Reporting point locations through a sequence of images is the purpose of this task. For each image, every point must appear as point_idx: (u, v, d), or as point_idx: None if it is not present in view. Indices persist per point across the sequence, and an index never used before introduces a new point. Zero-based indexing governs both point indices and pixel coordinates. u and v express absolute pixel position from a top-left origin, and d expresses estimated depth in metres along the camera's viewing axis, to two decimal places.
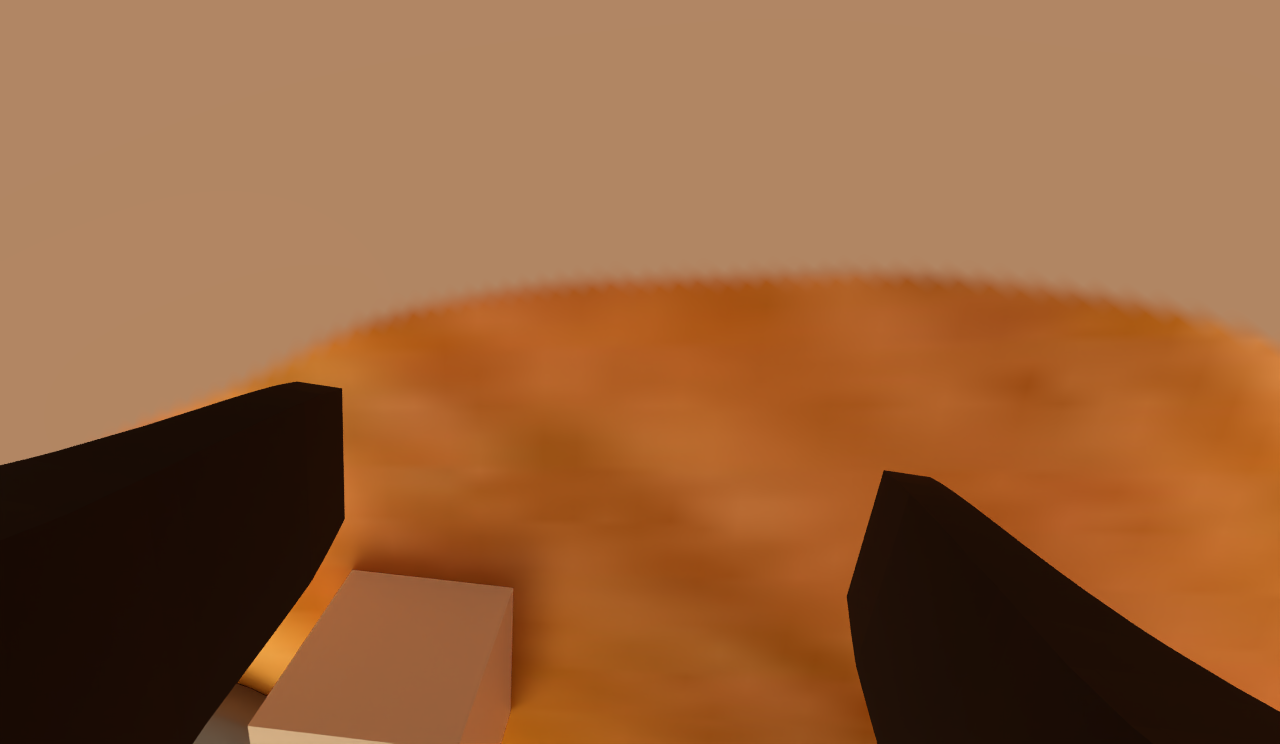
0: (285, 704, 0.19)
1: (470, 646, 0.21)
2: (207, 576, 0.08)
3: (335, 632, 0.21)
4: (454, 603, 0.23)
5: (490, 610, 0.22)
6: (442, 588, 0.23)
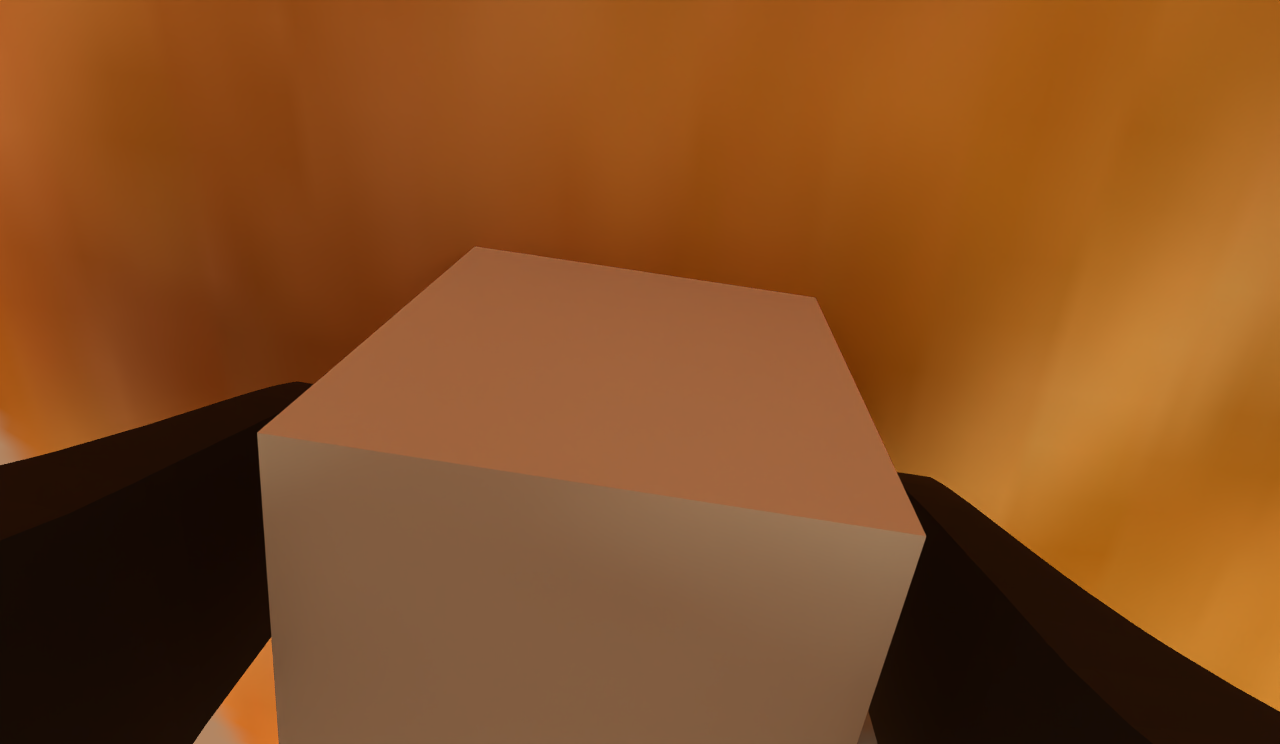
0: None
1: None
2: (207, 576, 0.08)
3: None
4: None
5: None
6: None
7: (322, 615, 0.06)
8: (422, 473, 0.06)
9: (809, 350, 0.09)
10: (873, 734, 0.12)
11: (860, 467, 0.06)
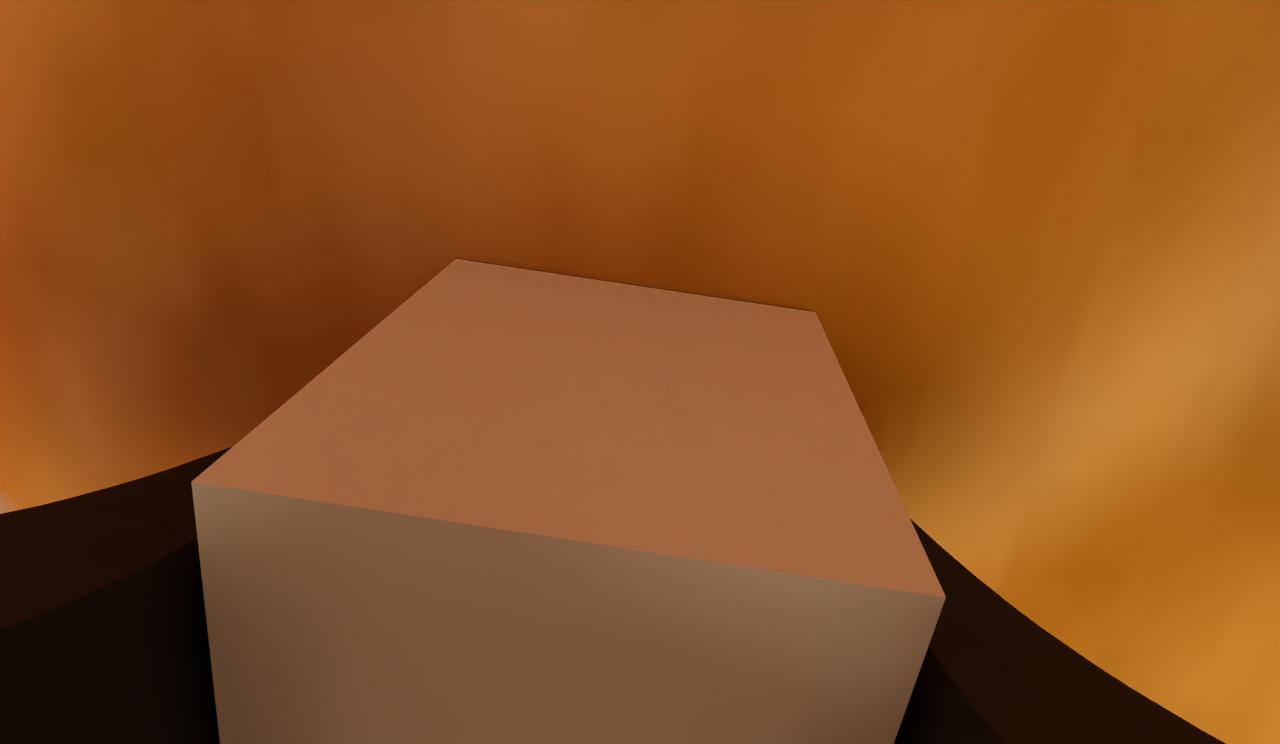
0: None
1: None
2: None
3: None
4: None
5: None
6: None
7: (272, 680, 0.06)
8: (379, 525, 0.05)
9: (810, 373, 0.08)
10: None
11: (869, 512, 0.06)
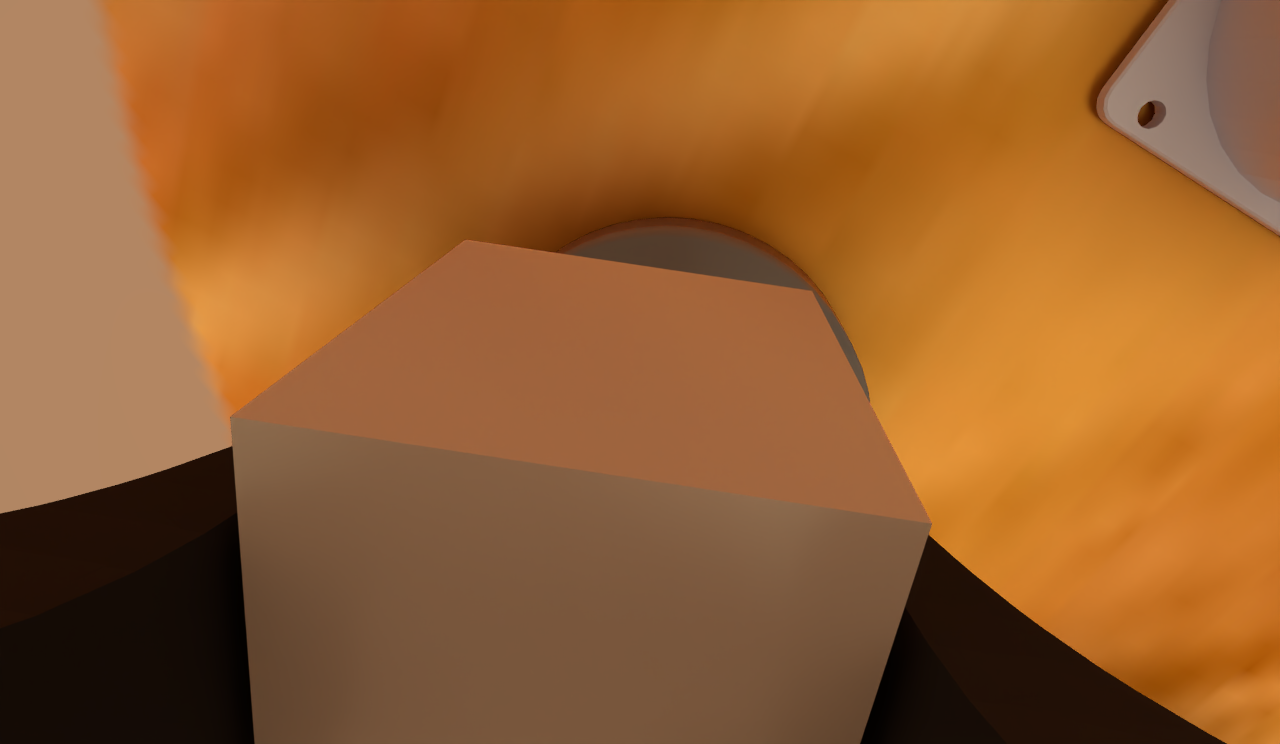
0: None
1: None
2: None
3: None
4: None
5: None
6: None
7: (301, 610, 0.06)
8: (404, 459, 0.05)
9: (807, 342, 0.09)
10: (662, 230, 0.16)
11: (862, 455, 0.06)
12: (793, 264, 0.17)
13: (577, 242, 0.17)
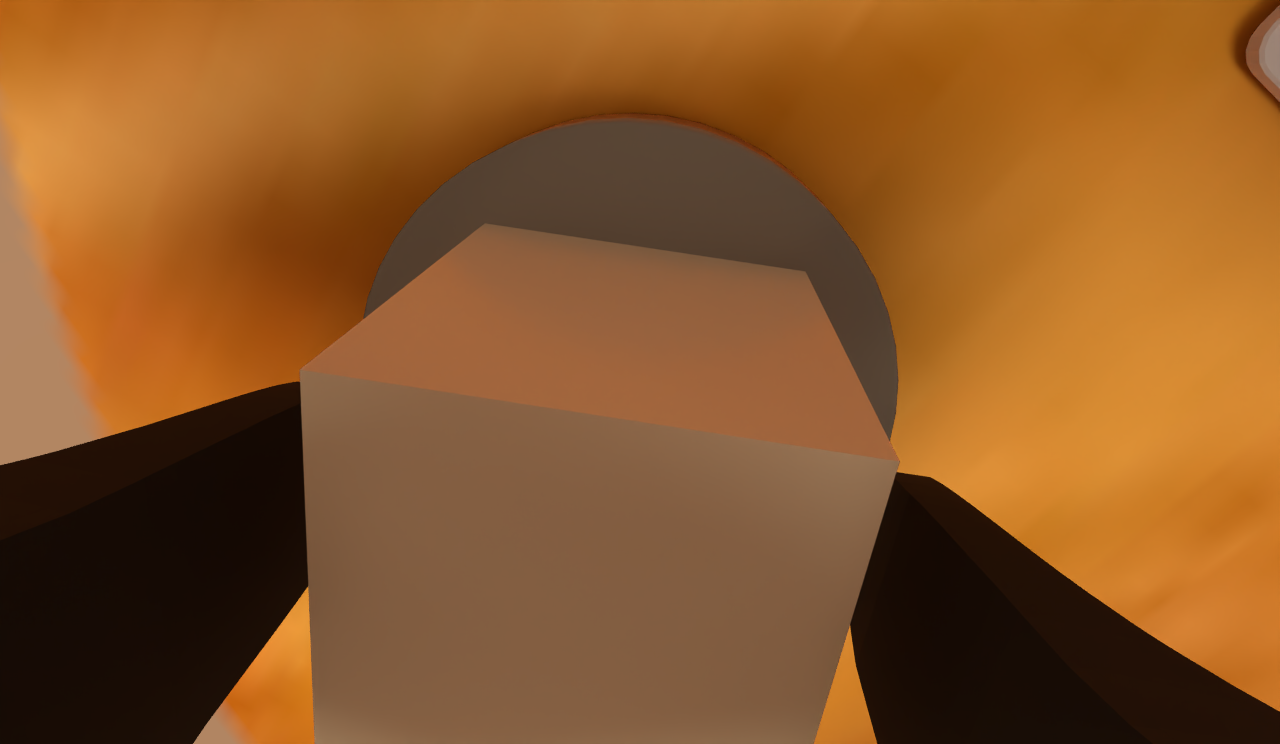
0: None
1: None
2: (207, 576, 0.08)
3: None
4: None
5: None
6: None
7: (354, 541, 0.07)
8: (447, 406, 0.06)
9: (799, 315, 0.10)
10: (661, 122, 0.12)
11: (842, 408, 0.07)
12: None
13: (545, 128, 0.13)
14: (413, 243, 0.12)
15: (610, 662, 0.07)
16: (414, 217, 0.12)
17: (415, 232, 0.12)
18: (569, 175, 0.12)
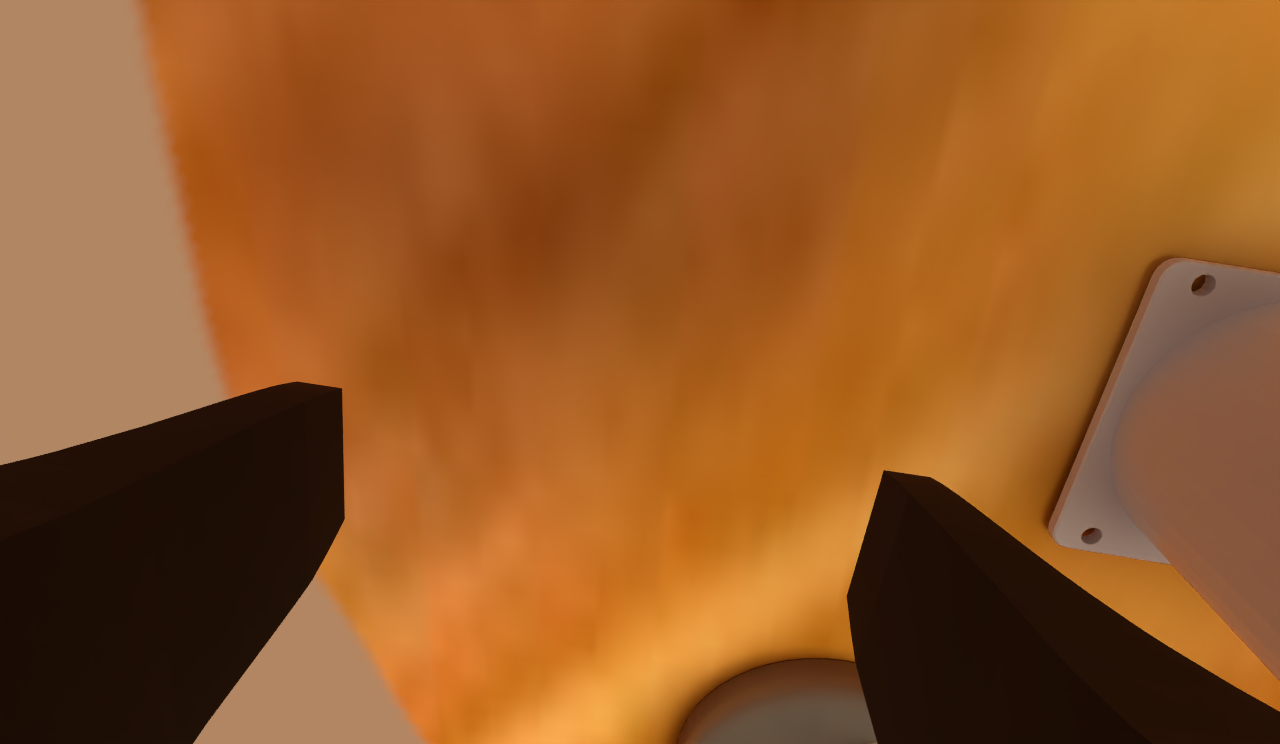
0: None
1: None
2: (207, 576, 0.08)
3: None
4: None
5: None
6: None
7: None
8: None
9: None
10: (772, 698, 0.22)
11: None
12: None
13: (714, 702, 0.24)
14: None
15: None
16: None
17: None
18: None
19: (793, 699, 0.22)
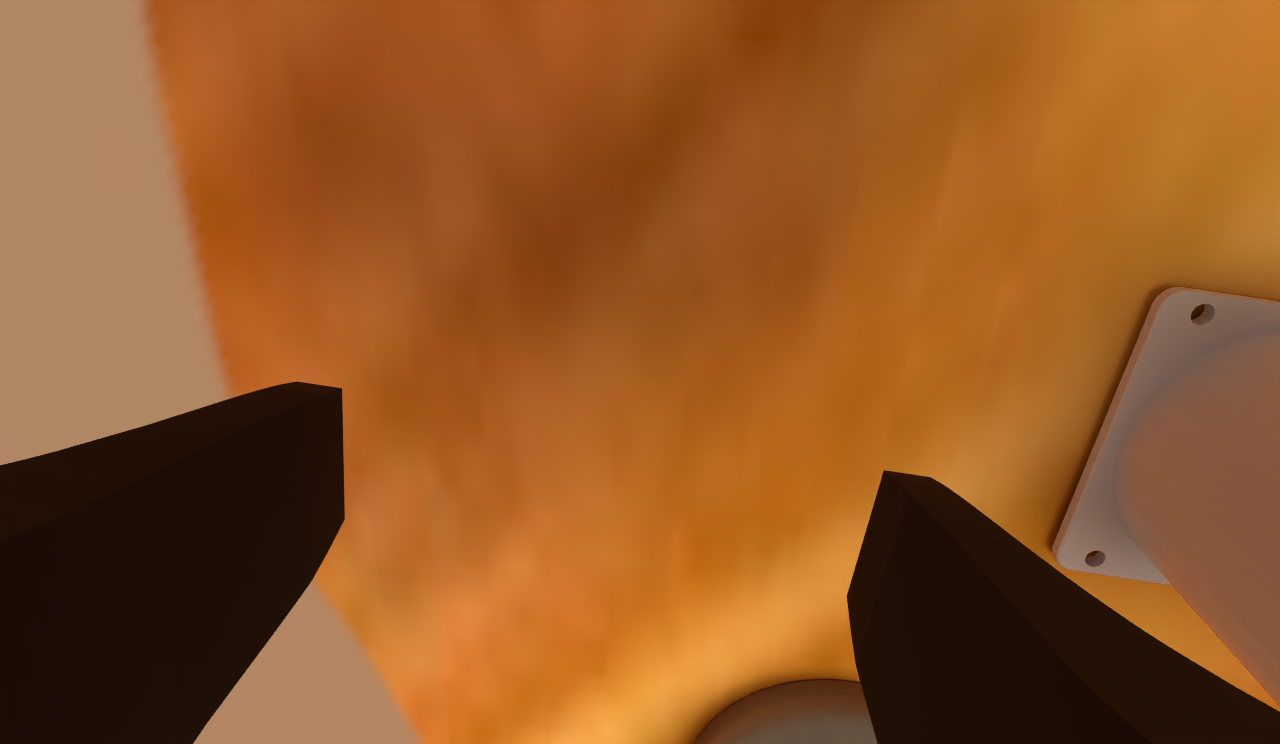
0: None
1: None
2: (207, 576, 0.08)
3: None
4: None
5: None
6: None
7: None
8: None
9: None
10: (780, 720, 0.23)
11: None
12: None
13: (724, 723, 0.24)
14: None
15: None
16: None
17: None
18: None
19: (802, 721, 0.22)
